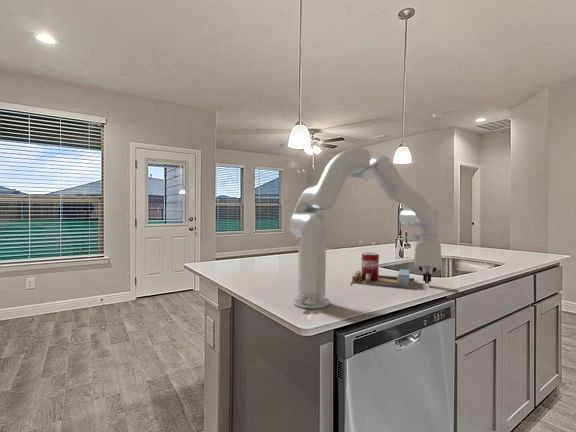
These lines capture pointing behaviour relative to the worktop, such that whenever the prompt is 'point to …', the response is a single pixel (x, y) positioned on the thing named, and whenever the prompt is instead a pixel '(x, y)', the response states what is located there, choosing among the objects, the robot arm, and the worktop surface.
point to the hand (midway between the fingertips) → (427, 282)
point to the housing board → (383, 281)
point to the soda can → (370, 266)
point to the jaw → (403, 277)
